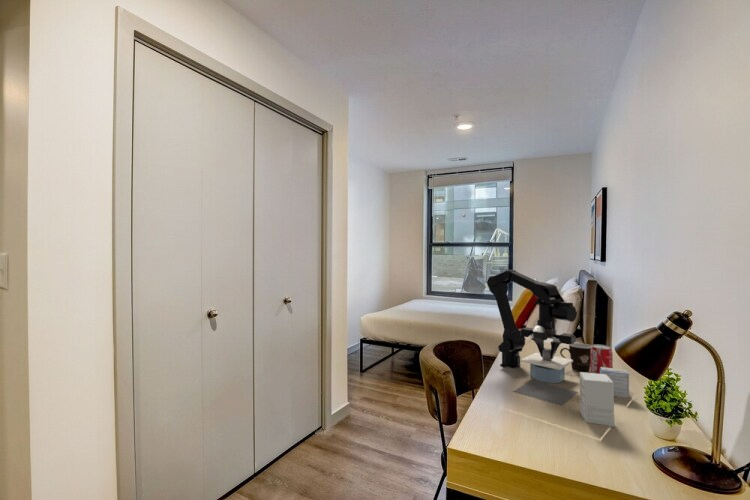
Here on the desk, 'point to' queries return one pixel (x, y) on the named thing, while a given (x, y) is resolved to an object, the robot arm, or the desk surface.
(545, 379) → the bowl
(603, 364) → the soda can
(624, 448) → the desk surface
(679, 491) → the desk surface
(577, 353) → the coffee mug
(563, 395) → the mat
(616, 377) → the medicine box
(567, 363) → the lid
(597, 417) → the supplement box
